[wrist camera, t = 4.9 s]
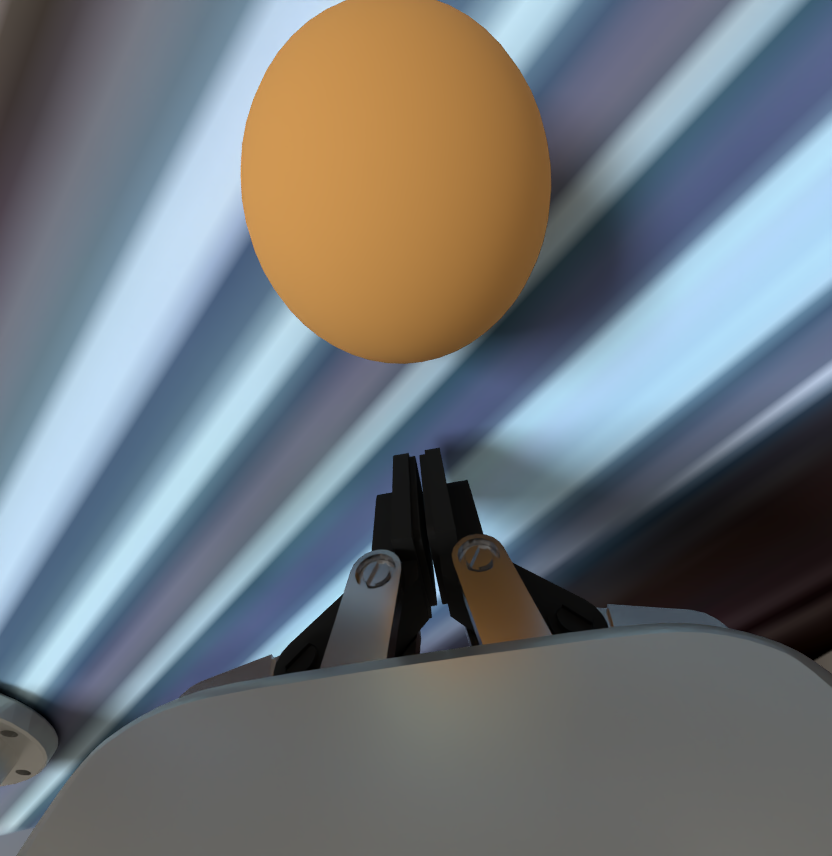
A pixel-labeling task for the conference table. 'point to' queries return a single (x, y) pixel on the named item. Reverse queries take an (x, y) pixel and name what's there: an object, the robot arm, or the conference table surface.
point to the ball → (395, 178)
